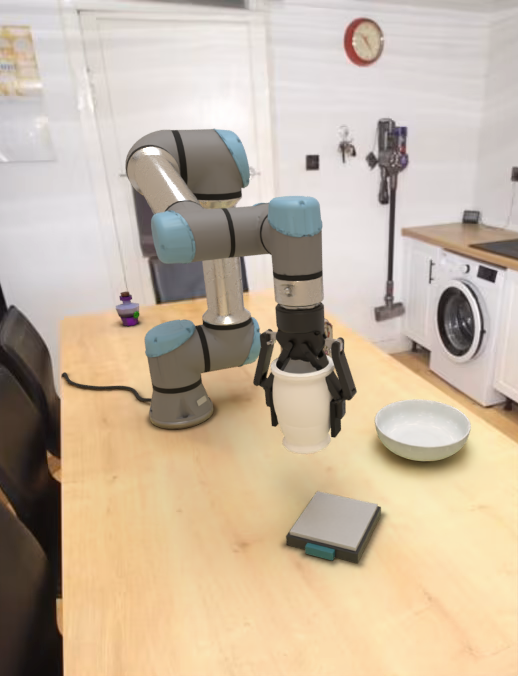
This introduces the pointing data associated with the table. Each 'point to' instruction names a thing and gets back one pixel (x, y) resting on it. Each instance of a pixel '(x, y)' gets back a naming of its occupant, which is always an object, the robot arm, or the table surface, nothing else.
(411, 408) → the serving bowl
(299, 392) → the jar
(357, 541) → the scale
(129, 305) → the potion bottle
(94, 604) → the table surface
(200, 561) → the table surface
